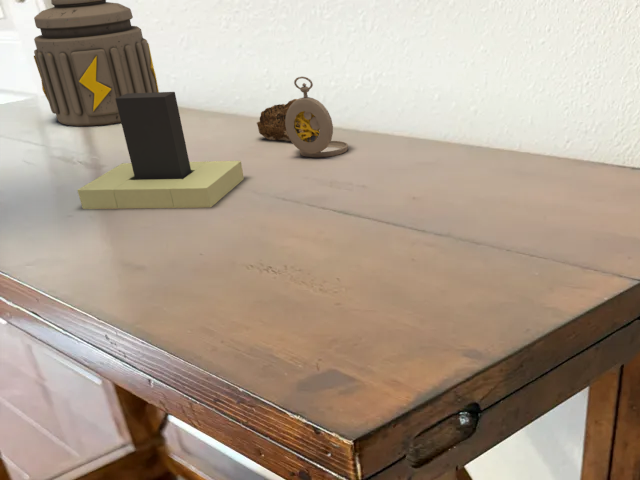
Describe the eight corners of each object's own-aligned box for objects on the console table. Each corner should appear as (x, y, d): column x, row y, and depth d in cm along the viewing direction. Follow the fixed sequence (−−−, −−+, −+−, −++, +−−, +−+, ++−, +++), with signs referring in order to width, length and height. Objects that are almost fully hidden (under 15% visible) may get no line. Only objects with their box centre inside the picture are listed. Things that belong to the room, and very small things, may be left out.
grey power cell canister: (58, 112, 150) (-1, -94, 131) (162, 100, 152) (118, -103, 134) (48, 132, 135) (-21, -97, 117) (163, 119, 138) (113, -106, 119)
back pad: (140, 199, 99) (115, 98, 92) (150, 192, 101) (126, 93, 94) (186, 199, 98) (164, 96, 91) (195, 192, 100) (174, 91, 93)
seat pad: (83, 212, 96) (76, 189, 94) (127, 183, 105) (121, 163, 103) (211, 210, 93) (206, 187, 92) (244, 181, 102) (241, 160, 101)
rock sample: (339, 102, 119) (297, 65, 113) (339, 148, 118) (296, 113, 111) (289, 133, 126) (246, 100, 119) (288, 176, 124) (245, 145, 117)
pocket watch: (344, 146, 114) (336, 65, 108) (354, 160, 108) (346, 74, 102) (286, 153, 113) (275, 71, 107) (293, 167, 107) (281, 81, 101)
